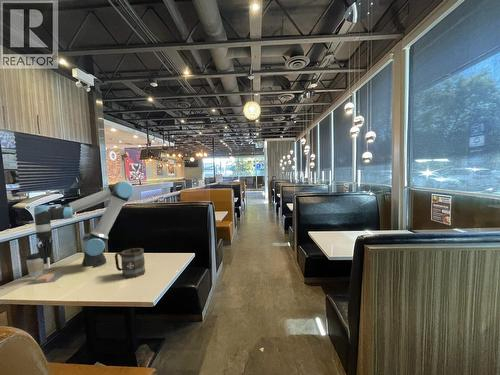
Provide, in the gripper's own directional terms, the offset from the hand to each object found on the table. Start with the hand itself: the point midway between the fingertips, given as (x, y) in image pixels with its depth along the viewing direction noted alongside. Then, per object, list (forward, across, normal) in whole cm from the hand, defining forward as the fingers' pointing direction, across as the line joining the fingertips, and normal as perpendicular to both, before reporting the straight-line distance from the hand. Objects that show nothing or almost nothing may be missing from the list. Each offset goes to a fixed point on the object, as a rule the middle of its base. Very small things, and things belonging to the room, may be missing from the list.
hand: (47, 268), depth 163 cm
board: (+7, +1, 0) cm, 7 cm away
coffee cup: (+8, -10, -12) cm, 17 cm away
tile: (+5, -1, 0) cm, 5 cm away
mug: (+8, +7, +50) cm, 51 cm away
